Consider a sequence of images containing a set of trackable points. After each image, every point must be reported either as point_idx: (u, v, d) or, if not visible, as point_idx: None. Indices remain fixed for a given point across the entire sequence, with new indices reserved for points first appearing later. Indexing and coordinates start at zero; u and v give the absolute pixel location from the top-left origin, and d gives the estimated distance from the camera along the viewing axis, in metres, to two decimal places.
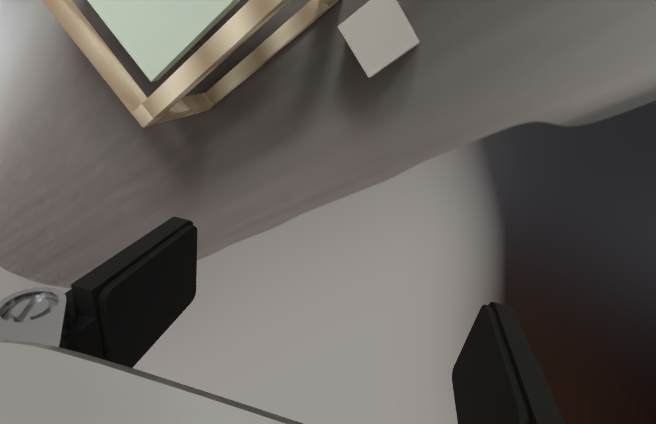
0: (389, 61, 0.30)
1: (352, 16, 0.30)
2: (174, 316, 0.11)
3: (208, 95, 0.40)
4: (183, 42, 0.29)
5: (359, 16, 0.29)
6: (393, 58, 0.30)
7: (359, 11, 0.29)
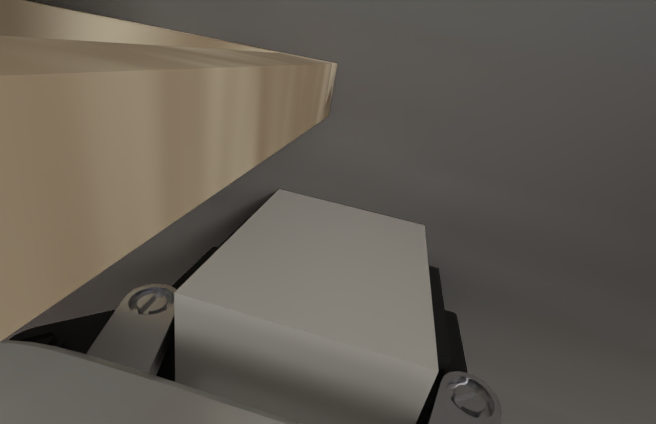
0: None
1: (245, 320, 0.07)
2: None
3: None
4: None
5: (268, 340, 0.07)
6: None
7: (279, 331, 0.07)
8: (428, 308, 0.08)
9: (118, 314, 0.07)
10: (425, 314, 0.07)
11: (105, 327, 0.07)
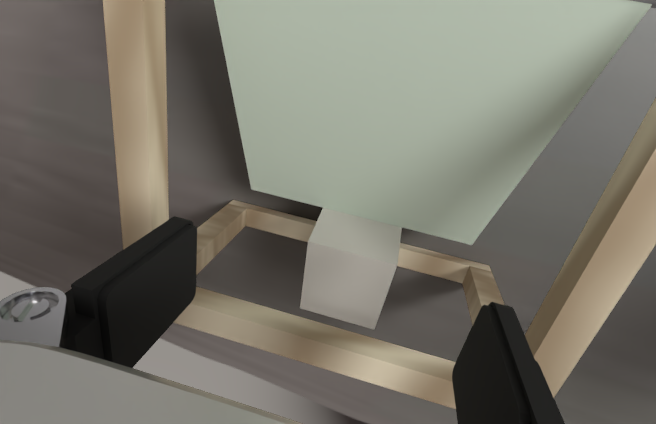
0: None
1: None
2: (174, 316, 0.11)
3: (247, 214, 0.27)
4: (324, 204, 0.22)
5: None
6: None
7: None
8: (378, 313, 0.22)
9: None
10: (376, 315, 0.22)
11: None
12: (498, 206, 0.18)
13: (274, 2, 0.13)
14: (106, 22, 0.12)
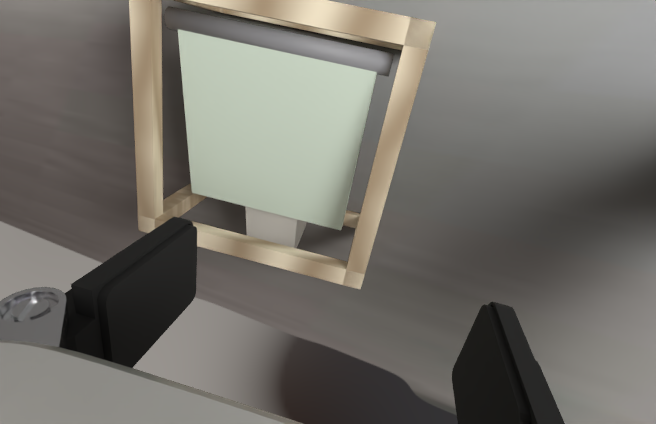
0: None
1: None
2: (174, 316, 0.11)
3: None
4: (242, 202, 0.32)
5: None
6: None
7: None
8: (293, 245, 0.35)
9: None
10: (292, 246, 0.35)
11: None
12: (348, 194, 0.29)
13: (212, 64, 0.25)
14: (133, 73, 0.25)
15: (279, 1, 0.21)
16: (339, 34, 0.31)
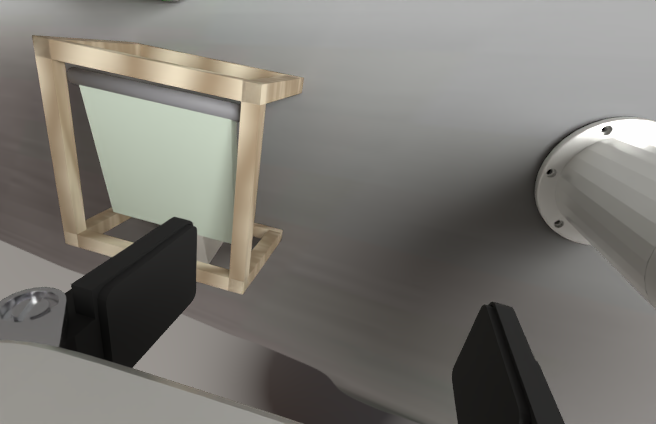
0: None
1: None
2: (174, 316, 0.11)
3: None
4: (153, 220, 0.37)
5: None
6: None
7: None
8: (205, 255, 0.41)
9: None
10: (205, 256, 0.41)
11: None
12: (232, 215, 0.34)
13: (109, 111, 0.31)
14: (46, 119, 0.31)
15: (146, 67, 0.27)
16: None
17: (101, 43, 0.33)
